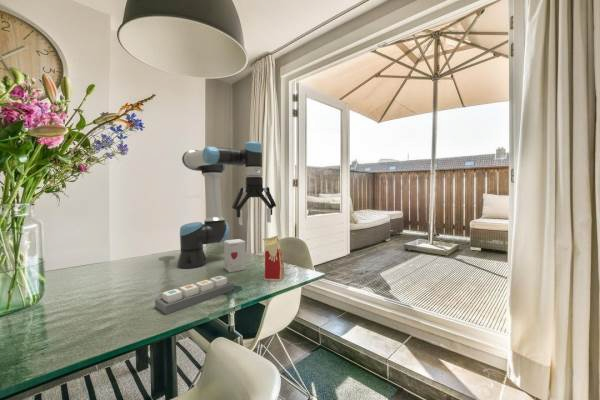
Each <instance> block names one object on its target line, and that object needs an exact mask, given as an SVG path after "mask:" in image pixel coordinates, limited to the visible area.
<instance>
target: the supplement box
mask: <svg viewBox="0 0 600 400" xmlns="http://www.w3.org/2000/svg"><path fill="white" fill-rule="evenodd" d="M246 259H247V257H246V241H245V240H243V239H241V238H238V239H237V238H235V239H228V240H227V239H226V240H225V241H223V264H224V266H223V269H225V270H226V271H227V272H228V273H233V272H238V271H239V272H240V271H245V270H247V264H246V263H247V262H246Z"/></svg>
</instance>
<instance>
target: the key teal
mask: <svg viewBox="0 0 600 400" xmlns="http://www.w3.org/2000/svg"><path fill="white" fill-rule="evenodd" d="M161 294H162V295H161V296H162V297H163V300H164V301H165V302H167V303H171V302H174V301H177V300H181V299H182V291H180V289H178V288H174V289H170V290H167V291H163V292H161Z"/></svg>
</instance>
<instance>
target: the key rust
mask: <svg viewBox="0 0 600 400" xmlns="http://www.w3.org/2000/svg"><path fill="white" fill-rule="evenodd" d="M179 290H180V291H182V296H184V297H186V298H187V297H190V296H193V295H196V294H199V290H198V286H196V284H193V283H191V284H186V285H183V286H181V287H179Z"/></svg>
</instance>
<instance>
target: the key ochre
mask: <svg viewBox="0 0 600 400" xmlns="http://www.w3.org/2000/svg"><path fill="white" fill-rule="evenodd" d="M195 285H196V286H198V290H199V291H200V292H205V291H208V290H211V289H213V282H212V281H210V279H205V280H201V281H198V282H195Z"/></svg>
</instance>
